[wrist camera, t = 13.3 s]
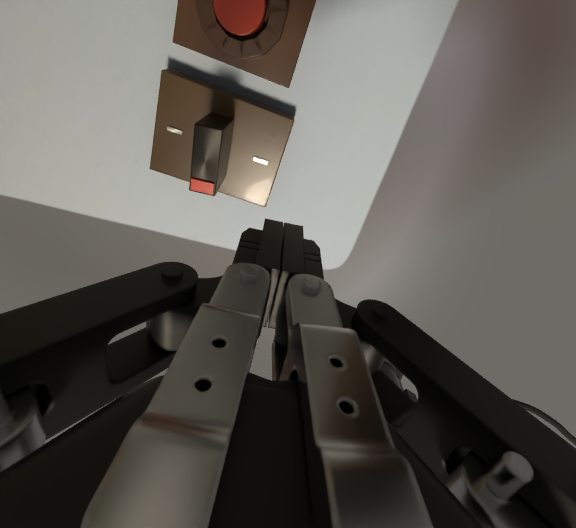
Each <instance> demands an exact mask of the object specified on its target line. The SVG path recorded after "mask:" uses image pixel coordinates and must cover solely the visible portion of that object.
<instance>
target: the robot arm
mask: <svg viewBox="0 0 576 528" xmlns="http://www.w3.org/2000/svg"><path fill="white" fill-rule="evenodd" d="M320 256H321V255H320V248H319V247H318V246H317V244H316V243H315V242H314V241H312V240H307V239H304V237H303V226H299V225H294V224H289V223H284V226H283V222H279V221H274V220H269V219H265V222H264V227H263V231H262V230H257V229H252V228H249V229H247V230H246V231H244V232H243V233H242V235H241V238H240V241H239V245H238V248H237V251H236V254H235V257H234V261H233V264H232V265H230V266H229V267H227V269H226V270H225V272H224V274H223V275H222V276H220V277H216V278H198V274H197V272H196V271H195V270H194V269H193V268H192V267H190V266H188V265H186V264H183V263H179V262H163V263H159V264H155V265H152V266H149V267H146V268H143V269H140V270H137V271H133V272H131V273H127V274H124V275H121V276H118V277H115V278H112V279H109V280H105V281H102V282H99V283H96V284H93V285H90V286H87V287H84V288H80V289H77V290H74V291H71V292H68V293H65V294H62V295H58V296H56V297H52V298H49V299H46V300H43V301H40V302H37V303H34V304H30V305H28V306H24V307H21V308H18V309H15V310H12V311H8V312H5V313H2V314H0V528H576V449H575V448H574V447H573V446H572V445H570V444H569V443H568V442H566V441H565V440H564V439H563V438H561V437H560V436H559V435H557V434H556V433H555V432H553V431H552V430H551V429H550V428H548V427H547V426H546V425H544V424H543V423H542V422H540V421H539V420H538V419H537V418H535V417H534V416H533V415H531V414H530V413H529V412H527V411H526V410H528V411H530V412H532V413H534V414H536V415H538V416H539V417H541V418H543V419H544V420H546V421H547V422H549V423H550V424H552V425H553V426H554V427H556V428H557V429H558V430H559V431H560V432H561V433H562V434H563V435H564V436H565V437H566V438H567V439H569V440H570V441H571V442H572V443H574V444H575V445H576V438H575V437H574V436H573V435H571V434H570V433H569V432H568V431H567V430H566V429H565V428H564V427H563V426H562V425H561V424H560V423H558V422H557V421H556V420H554V419H553V418H551V417H550V416H549V415H547V414H546V413H544V412H542V411H541V410H539V409H537V408H535V407H533V406H531V405H528V404H525V403H523V402H519V401H516V400H513V399H511V398H509V397H508V396H507V395H505V394H504V393H503V392H502V391H500V390H499V389H498V388H496V387H495V386H494V385H493V384H491V383H490V382H489V381H487V380H486V379H485V378H483V377H482V376H481V375H479V374H478V373H477V372H476V371H474V370H473V369H472V368H470V367H469V366H468V365H466V364H465V363H464V362H463V361H461V360H460V359H459V358H457V357H456V356H455V355H454V354H452V353H451V352H450V351H448V350H447V349H446V348H444V347H443V346H442V345H441V344H439V343H438V342H437V341H435V340H434V339H433V338H432V337H430V336H429V335H428V334H426V333H425V332H423V330H421V329H420V328H419V327H417V326H416V325H415V324H413V323H412V322H411V321H410V320H408V319H407V318H405V317H404V316H403V315H402V314H400V313H399V312H398V311H397V310H395V309H394V308H393V307H391V306H389V305H388V304H386V303H383V302H381V301H377V300H363V301H361V302H360V303H359V304H358V306H357V308H355V307H352V306H350V305H347V304H345V303H342V302H340V301H338V300H337V299H335V298H334V294H333V291H332V288H331V286H330V285H329V284H328V283H327V282H326V281H324V277H323V269H322V263H321V257H320ZM269 313H270V314H269ZM268 318H269V324H268V328H274V329H275V336H274V340H273V344H272V381H271V380H267V379H265V378H262V377H260V376H257V375H254V374H252V373H249V371H250V367H251V363H252V359H253V355H254V350H255V346H256V342H257V339H258V338H259V336H260V333H261V329H262V327H266V326H267V322H268ZM143 322H146V328H144V329H141V330H139V331H137V332H135V333H133V334H131V335H129V336H126V337H124V338H122V339H120V340H118V341H116V342H113V343H111V344H109V345H108V343H109V342H110V340H111V339H112V338H113V337H115V336H116V335H117V334H119V333H121V332H123V331H125V330H128V329H130V328H132V327H134V326H137V325H139V324H141V323H143ZM395 367H396V368H397V369H398V370H399V371H400V372H401V373H402V374H403V375H405V376H406V377H407V378H408V379H409V380H410V381H411V382H412V383H413V384H414V385H415V387H416V389H417V391H418V401H417V398H416V395H415V394H413V393H412V392H411V391H409V390H407V389H405V390H403V387H402V384H401V381H400V378H399V376H398V375H397V372H396V368H395ZM167 368H168V370H167V372H166V373H165V375H163V376H160V377H157V378H154V379H151V380H149V381H147V380H148V379H150V378H152V377H153V376H155V375H157V374H159V373H160V372H162V371H163V370H165V369H167ZM145 381H147V382H145ZM143 382H145V383H143ZM126 392H127V393H126ZM123 394H124V395H123ZM121 395H122V396H121ZM120 396H121V397H120ZM118 397H119V398H118ZM116 398H117V399H116ZM114 399H116V400H114ZM113 400H114V401H113ZM111 401H113V402H111ZM110 402H111V403H110ZM108 403H109V404H108ZM106 404H108V405H106ZM104 405H106V406H105V407H103V406H104ZM101 407H103V408H101ZM99 408H101V409H100V410H98V409H99ZM96 410H98V411H97V412H95V413H94V414H92V415H90V416H89V417H87V418H86V419H84V420H82V421H81V422H79V423H78V424H76V425H74V426H73V427H72V428H70V429H68V430H67V431H65V432H63V433H62V434H60V435H59V436H57V437H56V438H54V439H52V440H51V441H49V442H47V443H46V444H44V442H45V440H47V439H48V438H50V437H52V436H54V435H55V434H57V433H59V432H60V431H62V430H64V429H65V428H67V427H69V426H70V425H72V424H74V423H76V422H77V421H79V420H81V419H82V418H84V417H86V416H87V415H89V414H91V413H92V412H94V411H96Z"/></svg>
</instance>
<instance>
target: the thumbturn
mask: <svg viewBox="0 0 576 528" xmlns="http://www.w3.org/2000/svg"><path fill="white" fill-rule="evenodd" d="M233 124H234V118H230V117H227V116H223V115H219V114H215V113H209V114H208V115H206V116H205V117H203V118H202V119H200V120H199V121H197V122H196V123H195V124H194V136H193V149H192V162H191V174H190V187H189V190H190V191H194V192H199V193H203V194H207V195H212V196H215V195H216V193H217V191H218V189H219V188H220V186H221V184H222V182H223V181H224V179H225V177H226V175H227V168H228V160H229V153H230V146H231V139H232V132H233Z"/></svg>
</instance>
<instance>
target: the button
mask: <svg viewBox="0 0 576 528" xmlns="http://www.w3.org/2000/svg"><path fill="white" fill-rule="evenodd" d="M213 6H214V11H215V14H216V17H217V19H218V21H219V22H220V24H221V25H222V26H223V27H224V28H225V29H226V30H227V31H229V32H230V33H232V34H235V35H238V36H249V35H252V34H254V33H255V32H257V31H258V30H259V29H260V27H261V26H262V24H263V22H264V20H265V17H266V11H267V4H266V0H213Z"/></svg>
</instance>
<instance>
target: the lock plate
mask: <svg viewBox="0 0 576 528" xmlns="http://www.w3.org/2000/svg"><path fill="white" fill-rule="evenodd" d="M209 113H215V114H219V115H223V116H227V117H230V118H234V124H233V132H232V139H231V146H230V153H229V160H228V168H227V175H226V177H225V179H224V181H223V182H222V184H221V186H220V188H219V189H218V192H221V193H224V194H227V195H230V196H233V197H236V198H239V199H242V200H245V201H248V202H251V203H254V204H257V205H260V206H263V207H266V204H267V201H268V198H269V195H270V192H271V189H272V186H273V183H274V180H275V177H276V174H277V171H278V168H279V165H280V162H281V159H282V156H283V153H284V150H285V147H286V144H287V141H288V138H289V135H290V132H291V129H292V126H293V123H294V116H291V115H289V114H286V113H283V112H281V111H278V110H275V109H273V108H270V107H268V106H265V105H262V104H260V103H257V102H255V101H252V100H249V99H247V98H244V97H242V96H239V95H236V94H234V93H231V92H229V91H226V90H223V89H221V88H218V87H216V86H213V85H210V84H208V83H205V82H202V81H200V80H197V79H195V78H192V77H189V76H187V75H184V74H182V73H179V72H176V71H174V70H171V69H165V70H162V73H161V81H160V89H159V97H158V106H157V114H156V122H155V130H154V139H153V147H152V155H151V163H150V169H152V170H155V171H158V172H161V173H164V174H167V175H170V176H173V177H176V178H179V179H182V180H185V181H188V182H190V174H191V162H192V149H193V136H194V124H195V123H196V122H197V121H199V120H200V119H202V118H203V117H205V116H206V115H208V114H209Z"/></svg>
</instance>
